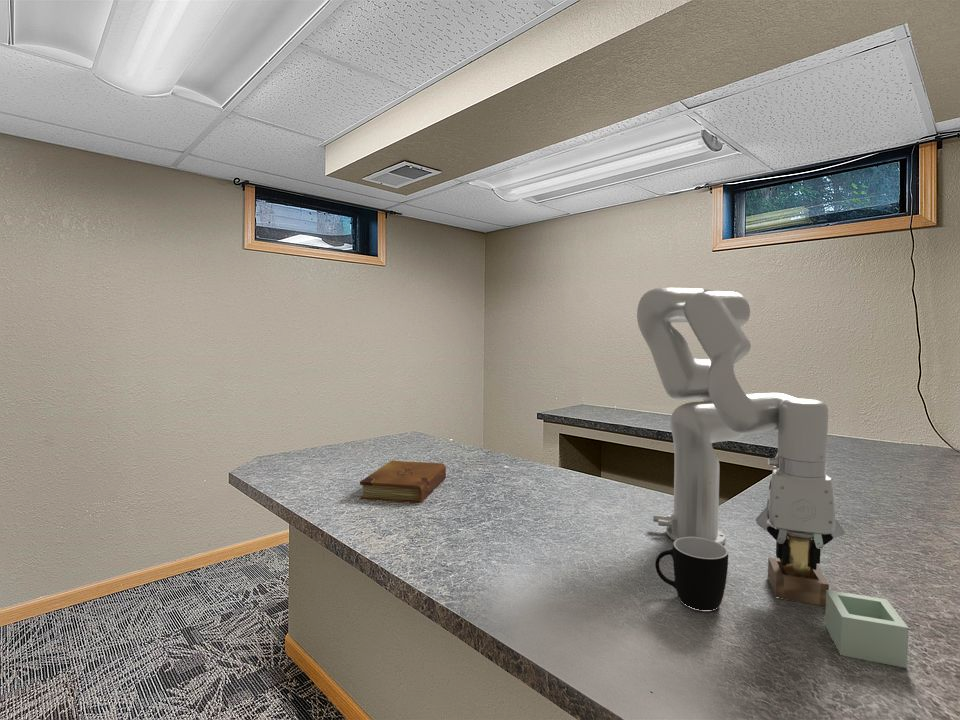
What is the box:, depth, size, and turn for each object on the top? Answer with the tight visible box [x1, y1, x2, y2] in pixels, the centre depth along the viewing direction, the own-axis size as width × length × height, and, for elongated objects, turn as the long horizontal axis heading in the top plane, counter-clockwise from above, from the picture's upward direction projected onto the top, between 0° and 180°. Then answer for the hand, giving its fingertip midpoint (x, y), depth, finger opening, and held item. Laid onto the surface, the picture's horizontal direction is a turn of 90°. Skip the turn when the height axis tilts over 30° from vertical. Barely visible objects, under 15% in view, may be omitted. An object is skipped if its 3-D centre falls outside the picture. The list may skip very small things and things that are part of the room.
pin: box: [784, 530, 814, 579], centre depth 92 cm, size 5×5×12 cm
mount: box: [767, 556, 830, 607], centre depth 92 cm, size 8×8×4 cm
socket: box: [824, 589, 910, 669], centre depth 77 cm, size 8×8×6 cm
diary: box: [359, 460, 447, 504], centre depth 153 cm, size 23×19×6 cm
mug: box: [654, 537, 729, 610], centre depth 90 cm, size 12×9×10 cm
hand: (797, 563), depth 92 cm, fingers closed on pin, 4 cm apart
